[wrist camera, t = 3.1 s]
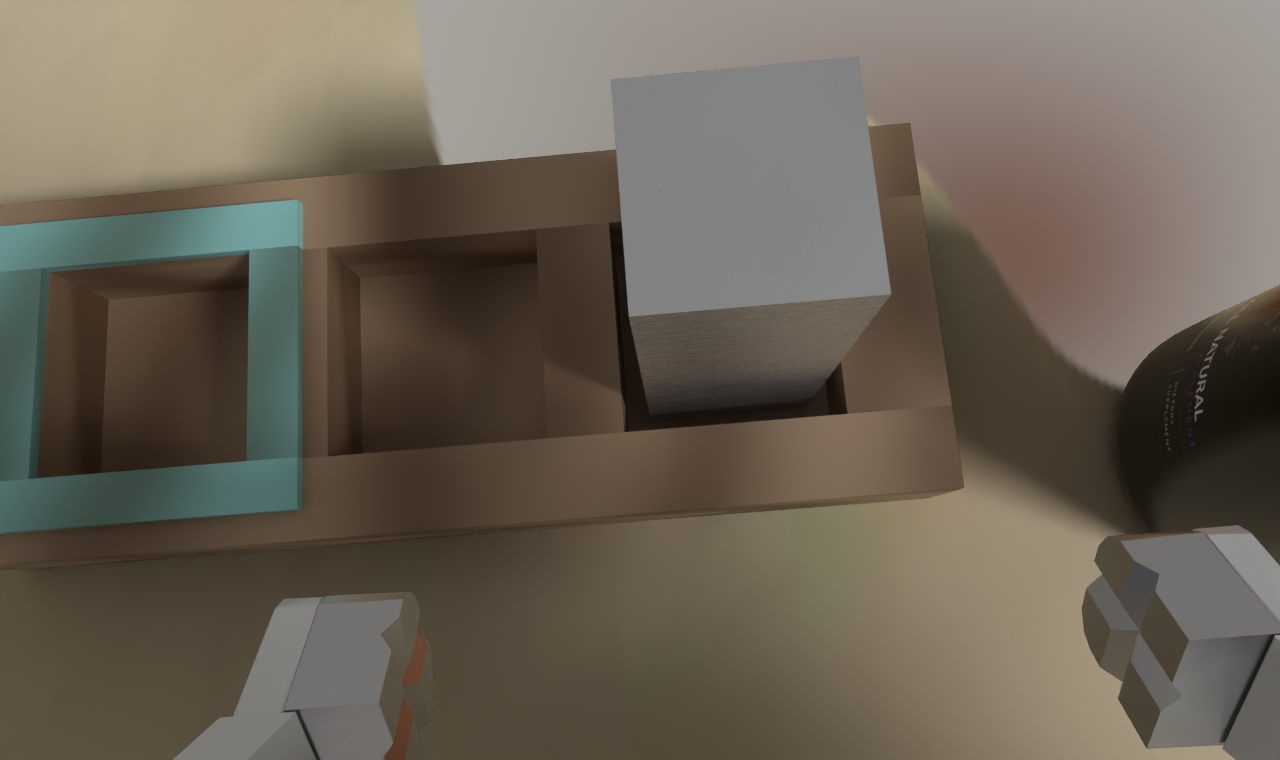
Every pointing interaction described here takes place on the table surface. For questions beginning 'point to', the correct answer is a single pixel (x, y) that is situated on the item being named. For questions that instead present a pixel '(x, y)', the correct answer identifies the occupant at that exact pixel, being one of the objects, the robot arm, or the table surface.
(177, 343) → the wooden compartment tray
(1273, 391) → the supplement bottle
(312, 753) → the robot arm
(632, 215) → the steel peg
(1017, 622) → the table surface
